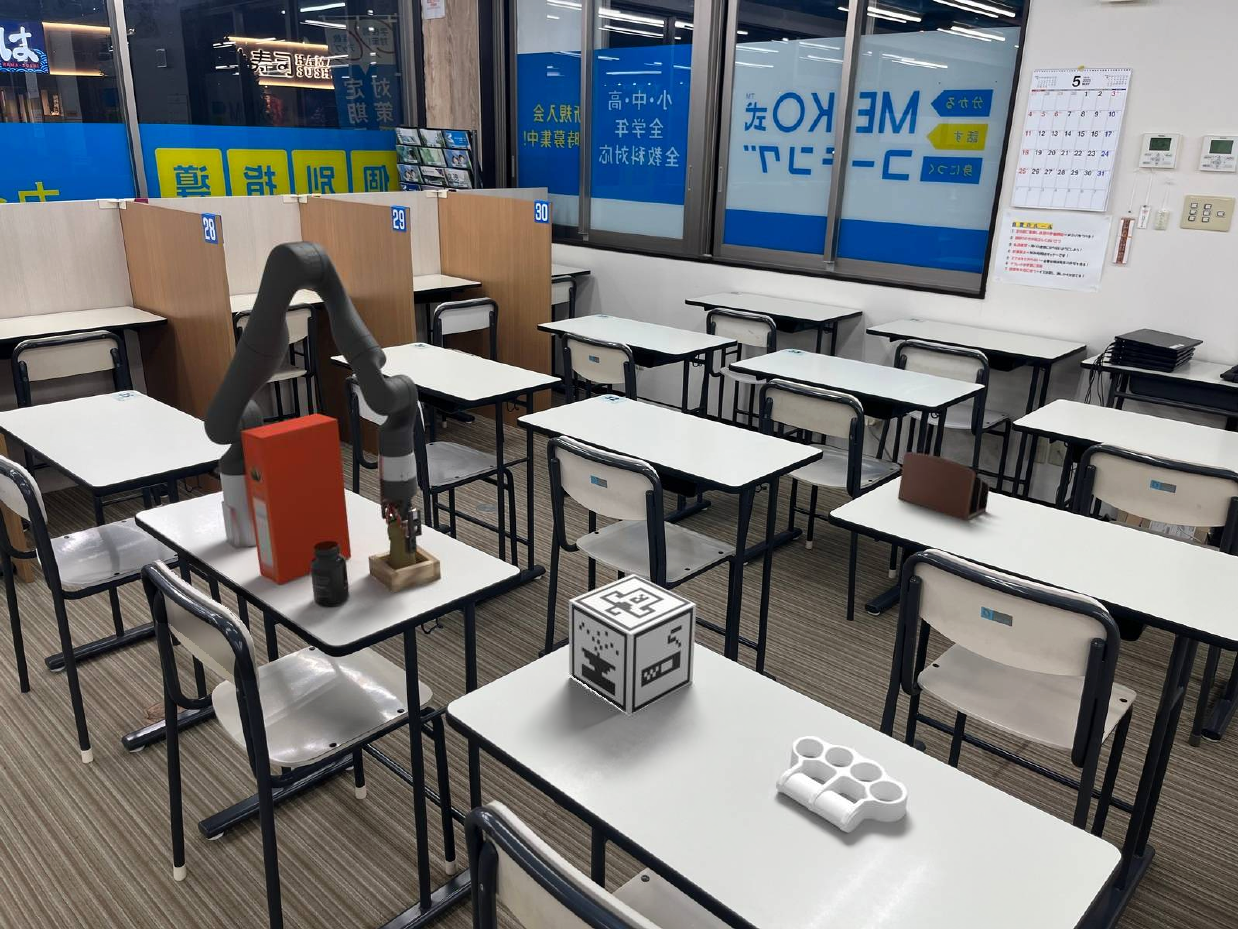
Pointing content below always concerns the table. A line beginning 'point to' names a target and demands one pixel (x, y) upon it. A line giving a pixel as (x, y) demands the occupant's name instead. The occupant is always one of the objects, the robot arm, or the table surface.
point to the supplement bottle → (329, 575)
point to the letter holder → (942, 486)
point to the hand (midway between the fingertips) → (402, 546)
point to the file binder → (295, 493)
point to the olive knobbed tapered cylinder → (398, 548)
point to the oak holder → (405, 570)
